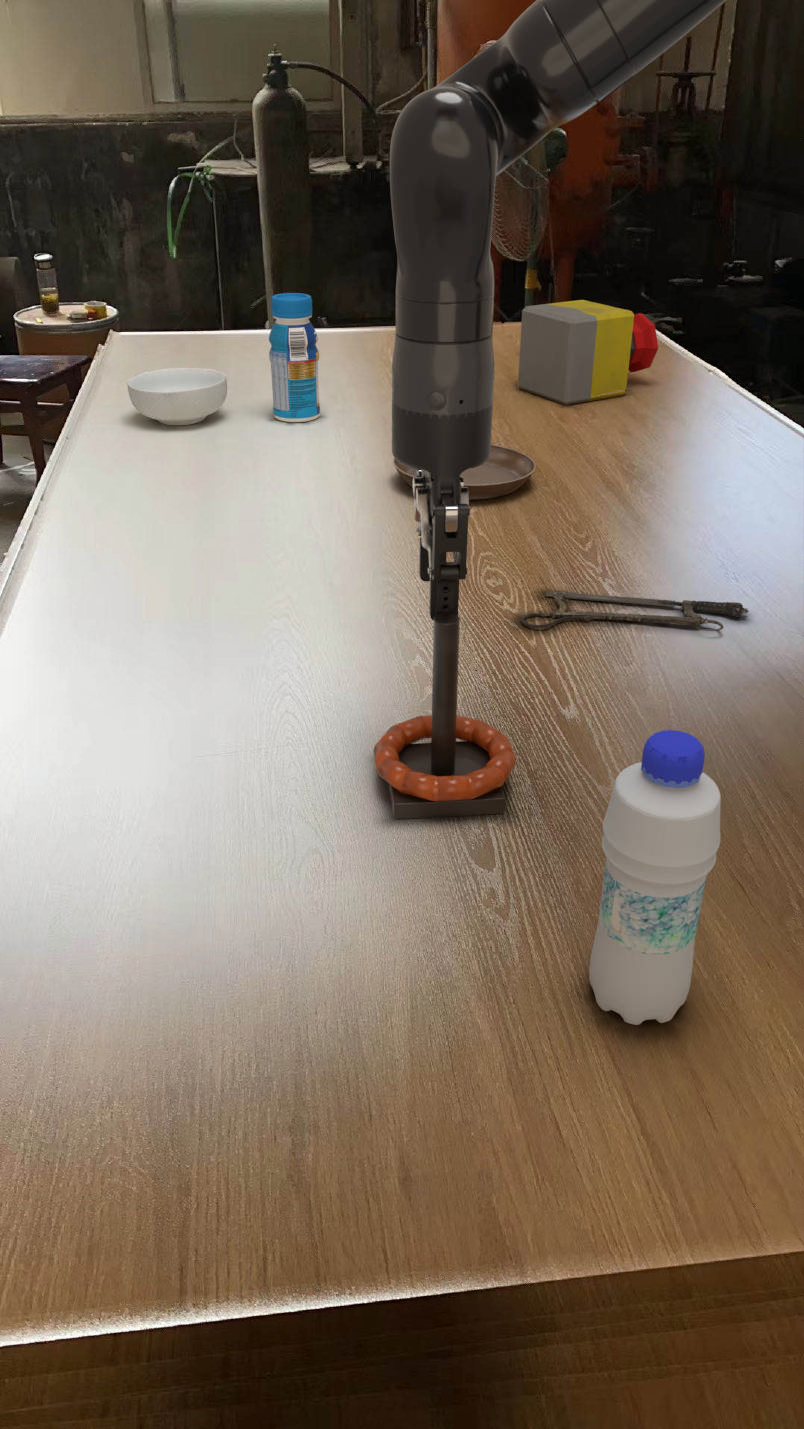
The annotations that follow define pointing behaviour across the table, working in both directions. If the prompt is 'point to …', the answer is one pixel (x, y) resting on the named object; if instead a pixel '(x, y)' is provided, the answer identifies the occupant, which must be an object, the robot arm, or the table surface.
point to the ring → (444, 785)
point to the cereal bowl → (178, 394)
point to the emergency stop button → (582, 350)
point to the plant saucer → (489, 473)
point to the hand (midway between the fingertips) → (437, 598)
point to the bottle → (654, 879)
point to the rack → (445, 739)
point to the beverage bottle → (294, 359)
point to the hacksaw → (688, 606)
